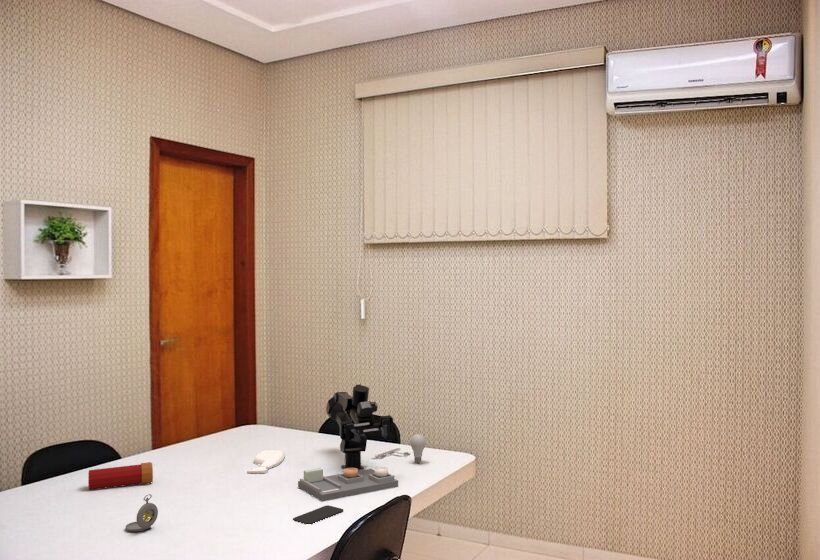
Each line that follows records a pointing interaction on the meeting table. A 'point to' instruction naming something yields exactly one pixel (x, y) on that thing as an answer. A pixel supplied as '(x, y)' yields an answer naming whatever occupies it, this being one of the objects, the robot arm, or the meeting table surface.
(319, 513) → the phone
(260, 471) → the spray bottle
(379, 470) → the offwhite button
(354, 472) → the terracotta button
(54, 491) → the meeting table surface
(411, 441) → the lightbulb
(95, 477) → the red tube
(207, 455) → the meeting table surface
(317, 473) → the pale green block
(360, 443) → the robot arm
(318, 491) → the control board
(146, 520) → the pocket watch
